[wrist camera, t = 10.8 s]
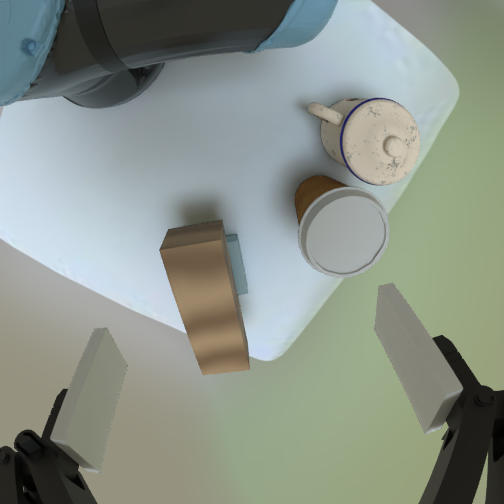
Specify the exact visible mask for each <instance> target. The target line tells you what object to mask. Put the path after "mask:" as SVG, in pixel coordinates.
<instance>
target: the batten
mask: <svg viewBox="0 0 504 504" xmlns="http://www.w3.org/2000/svg"><path fill="white" fill-rule="evenodd" d="M159 251H160V254H161V257H162V260H163V264H164V267H165V270H166V273H167V276H168V279H169V282H170V285H171V288H172V292H173V295H174V297H175V300H176V303H177V306H178V309H179V312H180V315H181V318H182V321H183V323H184V326H185V329H186V332H187V335H188V337H189V340H190V343H191V345H192V348H193V350H194V353H195V356H196V359H197V361H198V364H199V366H200V369H201V371H202V374H203V375H207V374H217V373H227V372H235V371H243V370H250V366H249V352H248V341H247V337H246V332H245V328H244V323H243V318H242V314H241V309H240V304H239V300H238V295H237V290H236V285H235V281H234V276H233V271H232V266H231V261H230V256H229V252H228V247H227V242H226V237H225V232H224V227H223V222H222V220H218V221H212V222H206V223H201V224H195V225H189V226H183V227H178V228H172V229H168V231H167V234H166V236H165V238H164V240H163V243H162V245H161V247H160V250H159Z"/></svg>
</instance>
